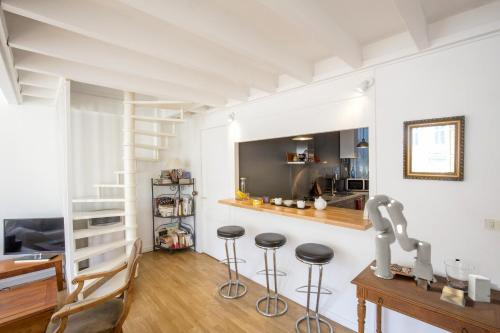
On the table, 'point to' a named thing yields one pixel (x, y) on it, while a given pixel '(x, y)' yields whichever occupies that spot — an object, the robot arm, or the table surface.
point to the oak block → (453, 295)
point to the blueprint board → (455, 303)
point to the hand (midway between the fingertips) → (422, 287)
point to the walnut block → (422, 284)
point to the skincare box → (479, 288)
